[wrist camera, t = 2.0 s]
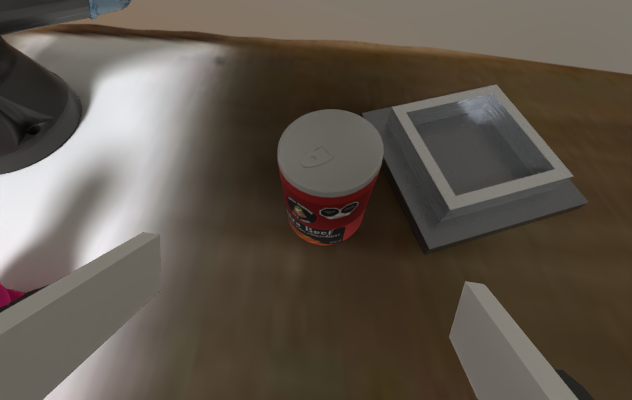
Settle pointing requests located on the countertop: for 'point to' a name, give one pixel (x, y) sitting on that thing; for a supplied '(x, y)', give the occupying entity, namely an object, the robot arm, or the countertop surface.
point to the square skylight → (470, 167)
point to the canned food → (328, 173)
